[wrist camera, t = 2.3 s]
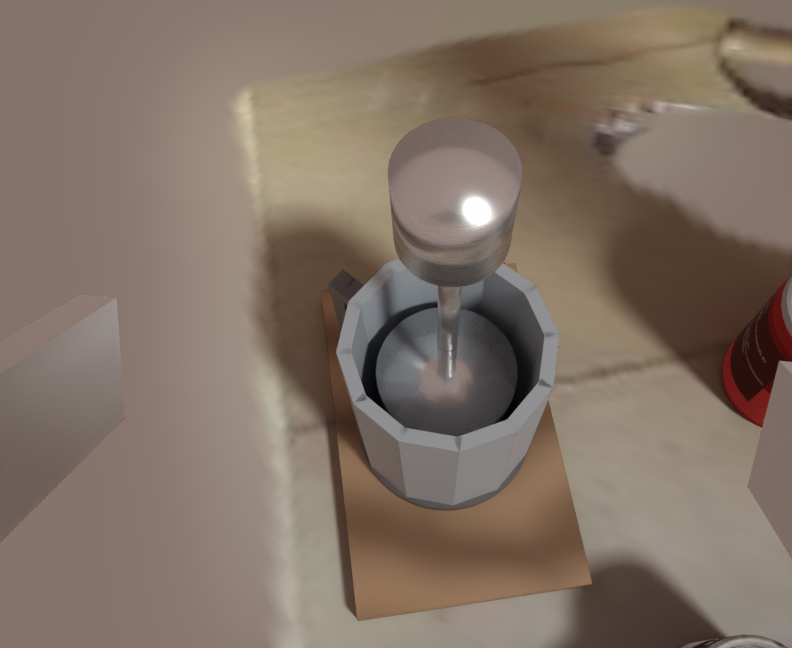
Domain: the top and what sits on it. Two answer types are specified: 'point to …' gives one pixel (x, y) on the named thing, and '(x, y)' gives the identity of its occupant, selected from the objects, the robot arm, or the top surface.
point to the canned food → (759, 356)
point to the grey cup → (426, 451)
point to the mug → (737, 642)
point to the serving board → (454, 526)
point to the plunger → (450, 276)
